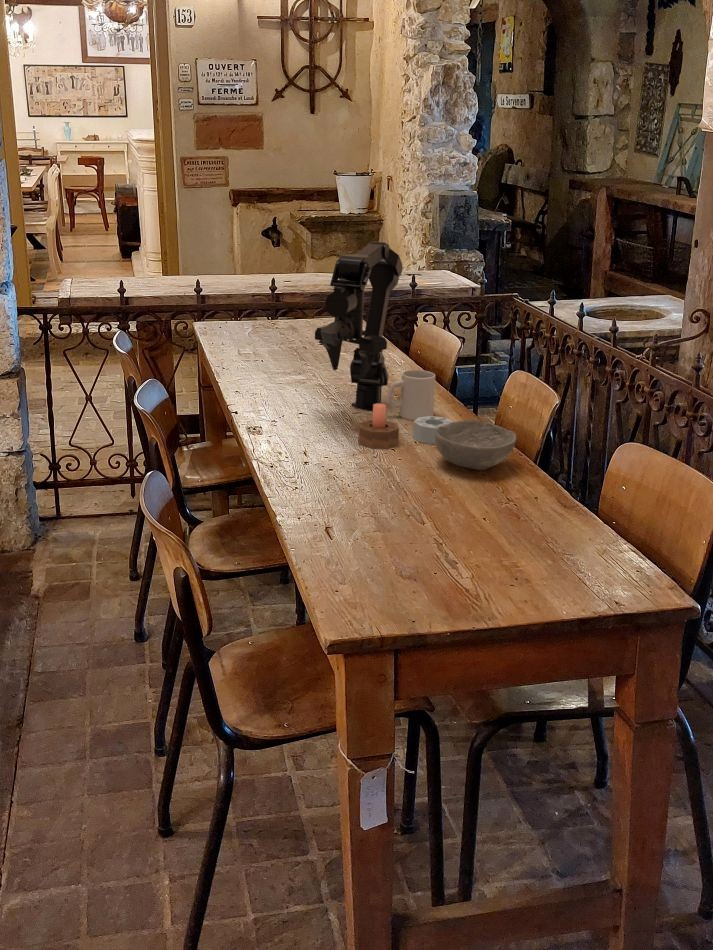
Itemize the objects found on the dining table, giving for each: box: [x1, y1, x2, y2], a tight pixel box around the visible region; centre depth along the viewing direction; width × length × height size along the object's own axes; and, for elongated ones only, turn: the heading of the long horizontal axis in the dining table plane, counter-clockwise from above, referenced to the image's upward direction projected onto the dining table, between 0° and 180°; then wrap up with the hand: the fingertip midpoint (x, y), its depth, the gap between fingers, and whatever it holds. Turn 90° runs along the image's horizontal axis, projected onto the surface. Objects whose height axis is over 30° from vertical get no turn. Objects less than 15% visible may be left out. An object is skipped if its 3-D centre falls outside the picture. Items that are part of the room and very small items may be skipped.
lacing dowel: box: [372, 402, 387, 429], centre depth 239 cm, size 3×3×9 cm
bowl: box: [435, 419, 517, 471], centre depth 226 cm, size 18×18×8 cm
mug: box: [388, 369, 436, 421], centre depth 259 cm, size 12×8×11 cm
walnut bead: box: [358, 419, 400, 449], centre depth 240 cm, size 9×9×4 cm
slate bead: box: [412, 415, 454, 446], centre depth 244 cm, size 9×9×4 cm
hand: (349, 373), depth 250 cm, fingers open, 9 cm apart
